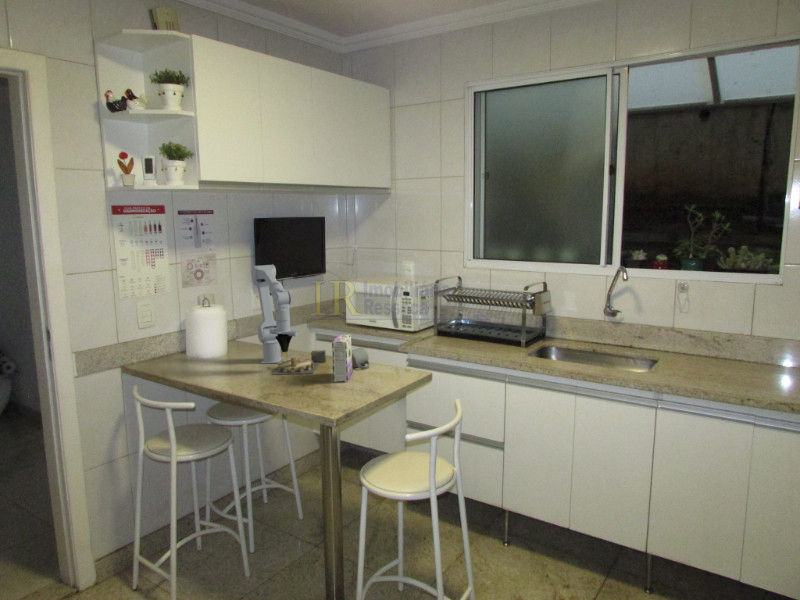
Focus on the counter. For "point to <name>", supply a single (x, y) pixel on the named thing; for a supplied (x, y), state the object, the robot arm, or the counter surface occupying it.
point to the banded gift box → (318, 356)
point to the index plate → (296, 372)
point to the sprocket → (296, 365)
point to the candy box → (342, 358)
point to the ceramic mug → (360, 358)
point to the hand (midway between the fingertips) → (284, 351)
